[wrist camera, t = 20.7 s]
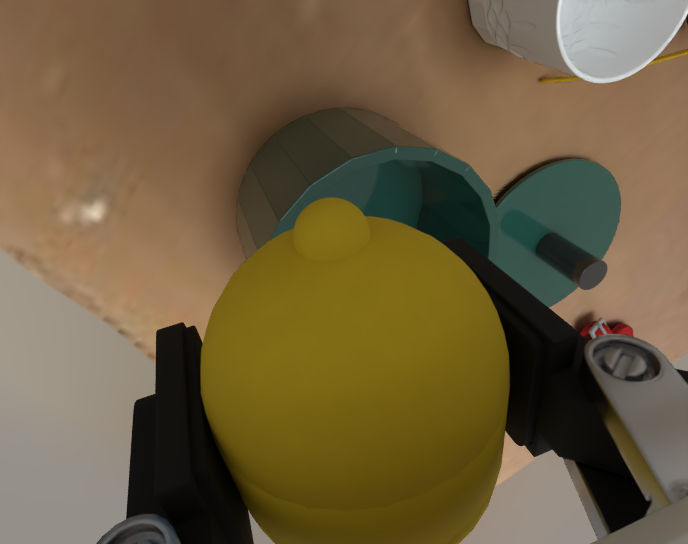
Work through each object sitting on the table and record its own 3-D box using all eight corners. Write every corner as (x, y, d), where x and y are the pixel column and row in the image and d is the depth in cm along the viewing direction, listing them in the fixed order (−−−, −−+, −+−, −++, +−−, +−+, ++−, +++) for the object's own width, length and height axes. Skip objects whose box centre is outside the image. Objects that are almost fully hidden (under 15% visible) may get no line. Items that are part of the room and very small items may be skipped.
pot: (206, 138, 28) (223, 193, 21) (421, 84, 31) (506, 115, 24) (266, 317, 37) (293, 403, 29) (430, 263, 40) (494, 327, 32)
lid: (464, 184, 37) (516, 217, 31) (627, 135, 40) (698, 158, 34) (464, 331, 46) (503, 375, 40) (596, 282, 49) (648, 317, 44)
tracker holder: (651, 327, 55) (619, 400, 57) (613, 313, 58) (584, 382, 60) (615, 325, 47) (580, 410, 49) (574, 309, 50) (542, 389, 52)
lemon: (139, 185, 8) (113, 406, 4) (411, 117, 9) (639, 229, 5) (253, 457, 13) (301, 697, 9) (425, 391, 14) (547, 573, 10)
